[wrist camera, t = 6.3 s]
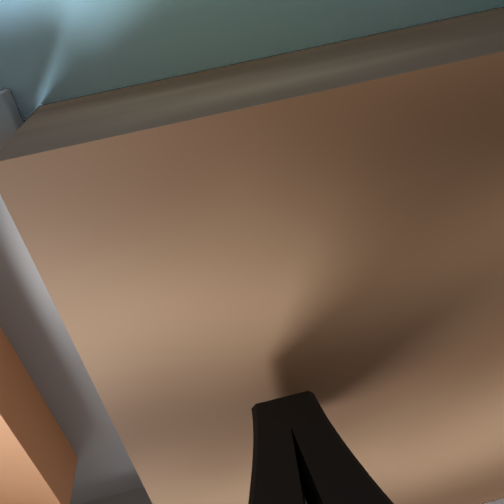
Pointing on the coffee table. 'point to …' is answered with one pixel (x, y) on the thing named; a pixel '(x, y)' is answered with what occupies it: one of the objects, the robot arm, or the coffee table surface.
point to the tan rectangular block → (30, 440)
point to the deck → (287, 256)
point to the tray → (59, 363)
